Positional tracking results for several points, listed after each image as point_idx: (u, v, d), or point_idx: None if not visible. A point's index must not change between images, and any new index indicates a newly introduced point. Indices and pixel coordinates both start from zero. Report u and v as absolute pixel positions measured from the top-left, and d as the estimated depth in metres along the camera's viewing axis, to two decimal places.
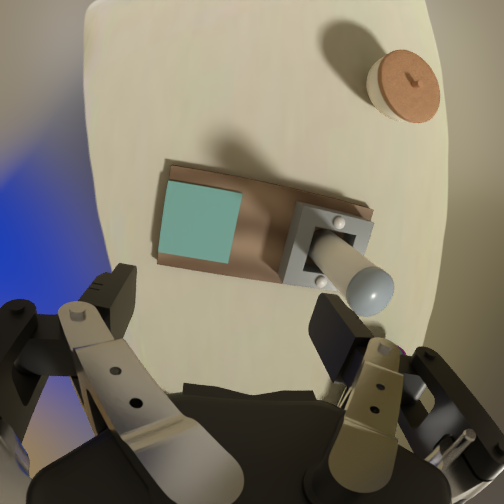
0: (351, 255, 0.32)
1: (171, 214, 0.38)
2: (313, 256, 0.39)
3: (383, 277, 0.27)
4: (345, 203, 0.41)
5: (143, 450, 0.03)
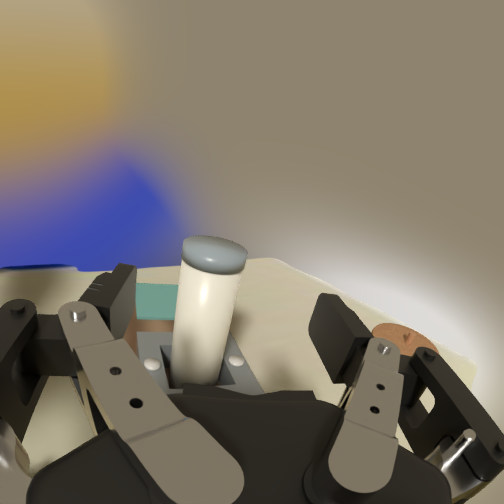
0: None
1: (167, 287, 0.47)
2: None
3: (240, 250, 0.24)
4: None
5: (143, 450, 0.03)
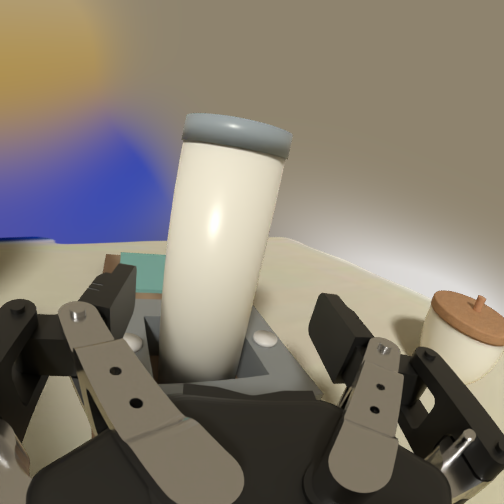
0: None
1: (162, 258, 0.37)
2: None
3: None
4: None
5: (143, 450, 0.03)
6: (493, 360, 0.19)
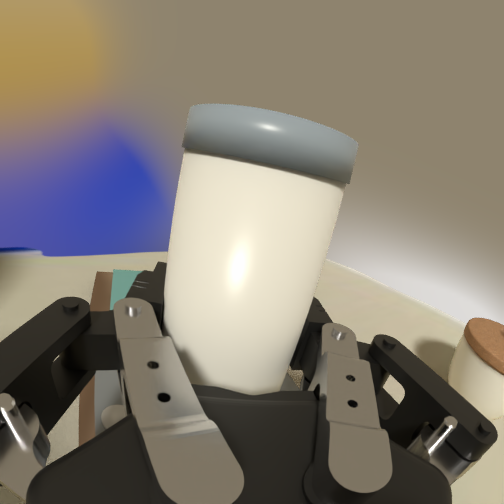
0: None
1: None
2: None
3: None
4: None
5: (153, 440, 0.03)
6: None
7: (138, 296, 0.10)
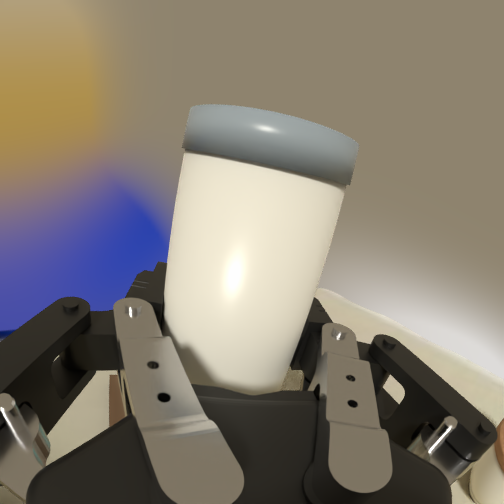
0: None
1: None
2: None
3: None
4: None
5: (153, 440, 0.03)
6: None
7: (138, 296, 0.10)
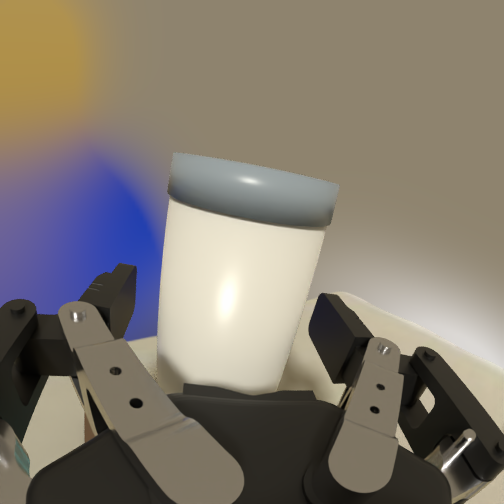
0: None
1: None
2: None
3: None
4: None
5: (143, 450, 0.03)
6: None
7: (92, 299, 0.08)
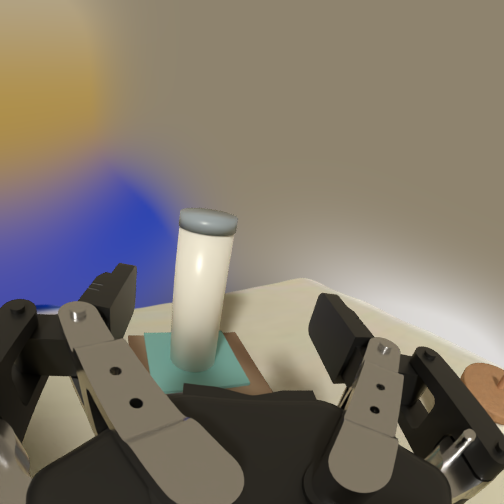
0: None
1: None
2: None
3: (231, 217, 0.26)
4: None
5: (143, 450, 0.03)
6: None
7: (92, 299, 0.08)
